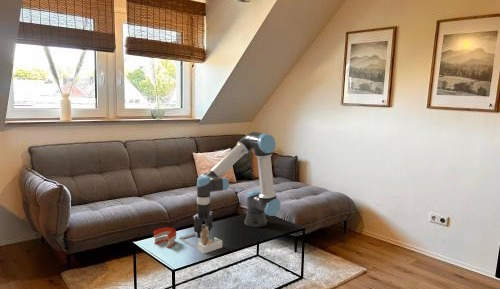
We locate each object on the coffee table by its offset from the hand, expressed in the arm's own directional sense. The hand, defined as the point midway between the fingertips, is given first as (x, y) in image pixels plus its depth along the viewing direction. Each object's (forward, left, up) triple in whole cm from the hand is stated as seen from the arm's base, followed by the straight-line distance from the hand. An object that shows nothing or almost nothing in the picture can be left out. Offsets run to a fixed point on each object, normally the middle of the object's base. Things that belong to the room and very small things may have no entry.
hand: (203, 241), depth 215 cm
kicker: (0, 0, -2) cm, 2 cm away
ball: (0, +6, 0) cm, 6 cm away
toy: (+14, -17, -2) cm, 22 cm away
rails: (0, -6, -2) cm, 7 cm away
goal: (0, +6, -2) cm, 6 cm away
